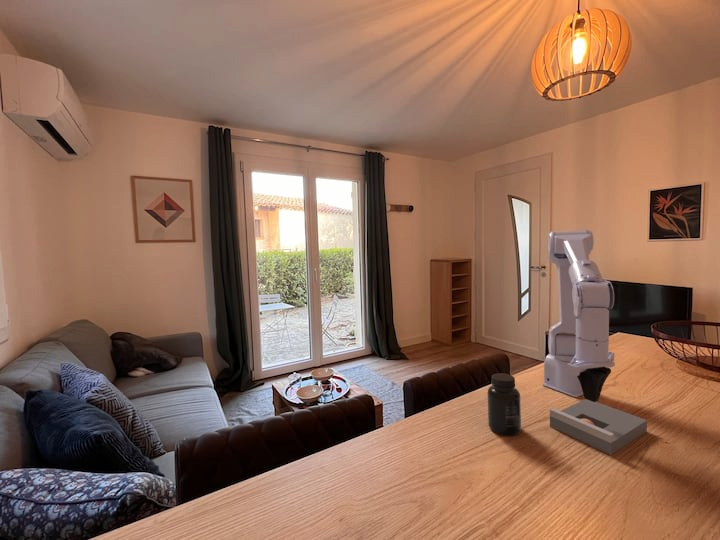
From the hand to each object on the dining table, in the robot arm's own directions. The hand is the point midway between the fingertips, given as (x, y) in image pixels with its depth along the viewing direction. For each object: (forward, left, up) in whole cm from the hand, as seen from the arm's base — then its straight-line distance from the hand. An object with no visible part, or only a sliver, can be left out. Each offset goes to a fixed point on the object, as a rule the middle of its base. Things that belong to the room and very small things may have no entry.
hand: (591, 399), depth 71 cm
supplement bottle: (-11, -14, -8) cm, 19 cm away
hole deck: (0, +2, -7) cm, 8 cm away
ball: (0, -2, -6) cm, 6 cm away
